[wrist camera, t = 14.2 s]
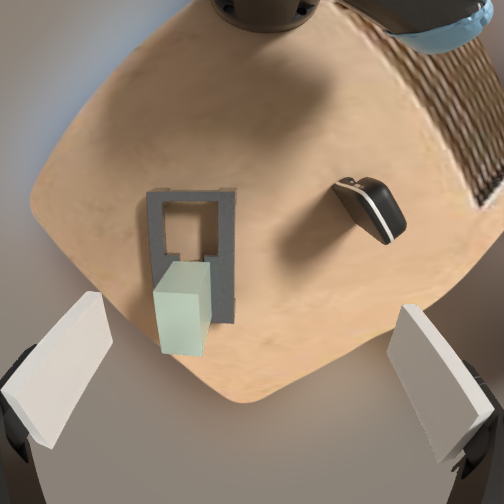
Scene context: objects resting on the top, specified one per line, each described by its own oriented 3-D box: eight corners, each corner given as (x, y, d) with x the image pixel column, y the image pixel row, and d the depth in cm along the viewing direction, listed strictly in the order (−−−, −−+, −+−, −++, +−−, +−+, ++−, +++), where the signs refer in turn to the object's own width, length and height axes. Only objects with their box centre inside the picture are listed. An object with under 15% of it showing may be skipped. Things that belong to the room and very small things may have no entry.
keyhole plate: (155, 188, 38) (146, 192, 34) (236, 188, 38) (234, 191, 34) (164, 306, 44) (157, 319, 40) (235, 310, 44) (233, 323, 40)
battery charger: (376, 209, 39) (416, 231, 28) (356, 225, 40) (390, 251, 29) (351, 168, 37) (387, 176, 26) (329, 184, 38) (358, 198, 27)
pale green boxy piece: (176, 251, 41) (149, 291, 29) (216, 252, 41) (202, 294, 29) (180, 302, 43) (158, 352, 31) (217, 304, 43) (206, 356, 31)
